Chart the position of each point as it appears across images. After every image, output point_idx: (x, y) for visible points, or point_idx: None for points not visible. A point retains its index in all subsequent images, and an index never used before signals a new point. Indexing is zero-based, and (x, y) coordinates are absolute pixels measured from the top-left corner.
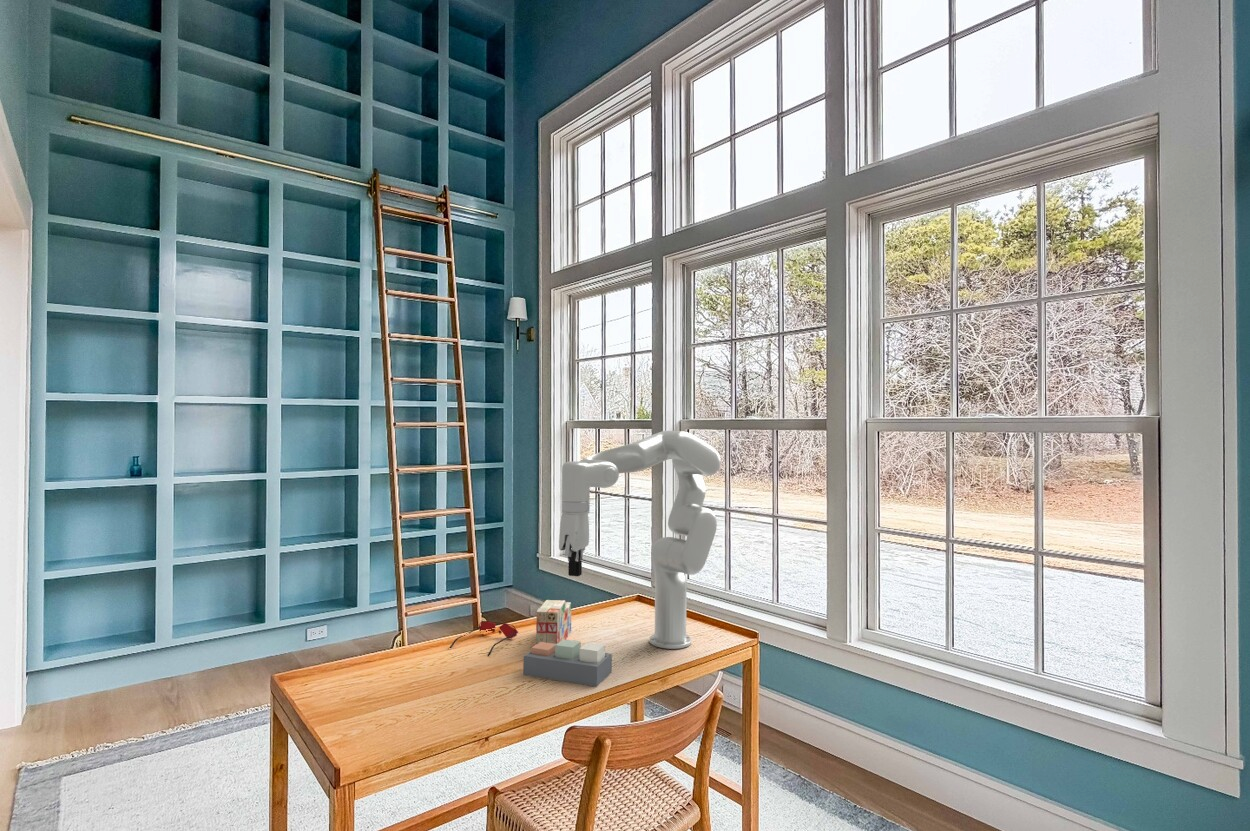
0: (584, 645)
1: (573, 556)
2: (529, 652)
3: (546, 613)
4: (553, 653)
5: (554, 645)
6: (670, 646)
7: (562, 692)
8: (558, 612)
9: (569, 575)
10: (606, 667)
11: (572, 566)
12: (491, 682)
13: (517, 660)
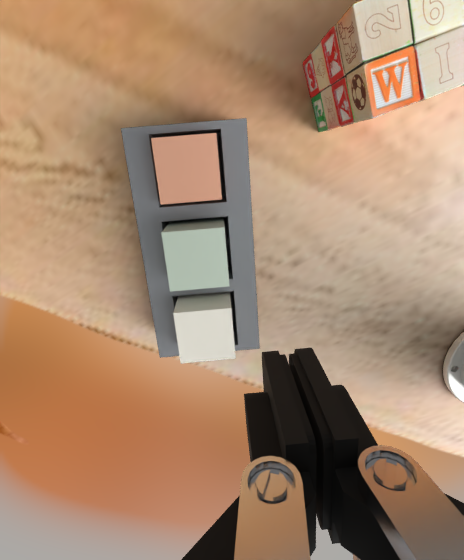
0: (203, 312)
1: None
2: (155, 129)
3: (359, 63)
4: (186, 206)
5: (207, 198)
6: (447, 380)
7: (99, 284)
8: (390, 111)
9: (262, 356)
10: None
11: (250, 454)
12: (41, 78)
13: (221, 42)
